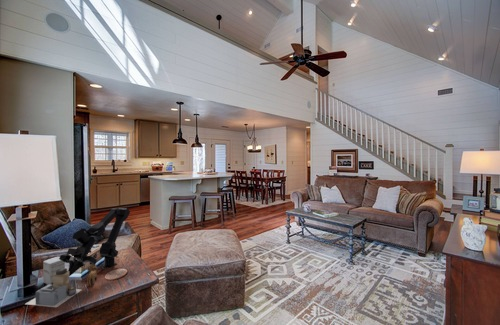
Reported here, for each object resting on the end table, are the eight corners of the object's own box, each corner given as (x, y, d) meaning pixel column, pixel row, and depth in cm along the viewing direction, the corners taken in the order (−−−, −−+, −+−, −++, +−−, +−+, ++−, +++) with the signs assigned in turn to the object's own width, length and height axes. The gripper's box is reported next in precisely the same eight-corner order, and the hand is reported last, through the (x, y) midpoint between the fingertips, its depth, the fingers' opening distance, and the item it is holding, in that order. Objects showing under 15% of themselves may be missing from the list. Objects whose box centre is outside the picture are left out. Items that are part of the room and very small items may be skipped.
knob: (61, 290, 116) (61, 267, 116) (69, 291, 115) (69, 268, 115) (52, 296, 112) (52, 272, 111) (61, 296, 111) (61, 272, 111)
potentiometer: (70, 291, 116) (70, 285, 115) (78, 291, 116) (77, 285, 116) (65, 296, 112) (65, 289, 112) (72, 296, 112) (72, 289, 112)
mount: (53, 289, 120) (53, 274, 119) (82, 291, 118) (82, 277, 118) (24, 306, 106) (24, 290, 105) (56, 309, 104) (56, 293, 104)
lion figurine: (86, 278, 131) (86, 263, 131) (97, 275, 134) (97, 261, 134) (86, 290, 119) (86, 274, 119) (98, 287, 122) (98, 271, 122)
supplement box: (42, 282, 125) (42, 261, 125) (58, 276, 132) (58, 255, 132) (49, 286, 122) (49, 263, 122) (65, 279, 129) (65, 258, 129)
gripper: (62, 240, 123) (41, 269, 112) (92, 242, 121) (74, 272, 110) (74, 248, 131) (56, 276, 120) (103, 250, 129) (87, 279, 118)
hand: (68, 275), depth 117 cm, fingers closed
